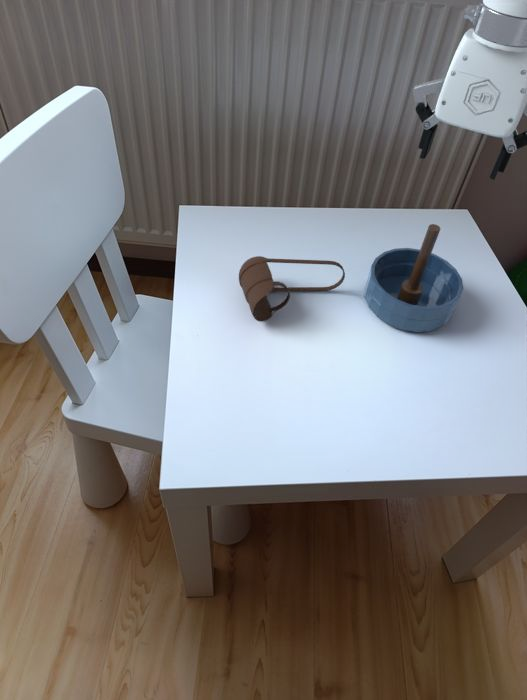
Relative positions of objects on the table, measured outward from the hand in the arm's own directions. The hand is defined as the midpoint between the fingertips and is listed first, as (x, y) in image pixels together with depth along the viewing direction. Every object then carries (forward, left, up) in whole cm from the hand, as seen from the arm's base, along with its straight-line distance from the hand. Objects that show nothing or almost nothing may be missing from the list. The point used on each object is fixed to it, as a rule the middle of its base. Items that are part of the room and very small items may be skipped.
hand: (458, 164), depth 74 cm
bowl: (0, 0, -26) cm, 26 cm away
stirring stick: (0, 0, -26) cm, 26 cm away
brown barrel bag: (+18, +9, -26) cm, 33 cm away
